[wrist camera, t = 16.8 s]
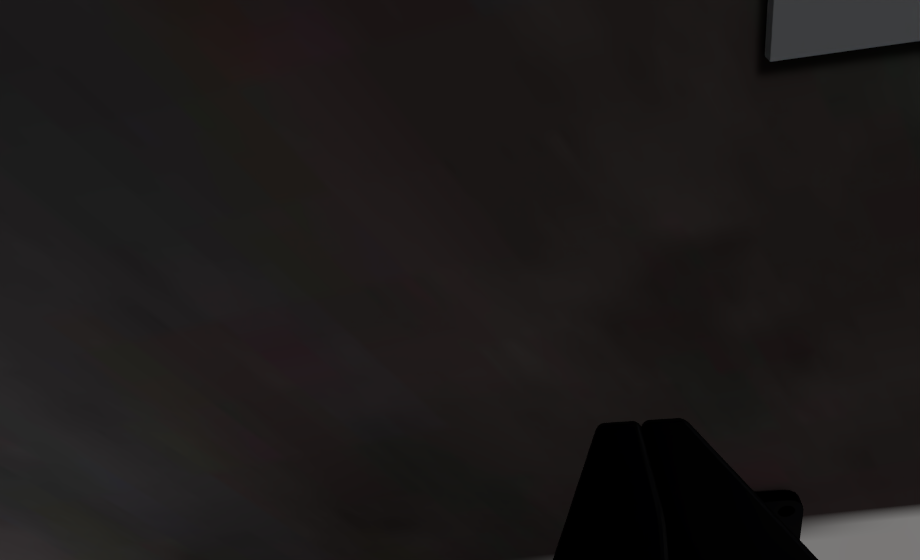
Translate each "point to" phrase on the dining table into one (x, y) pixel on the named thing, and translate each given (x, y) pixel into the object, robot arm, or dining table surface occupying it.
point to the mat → (837, 26)
